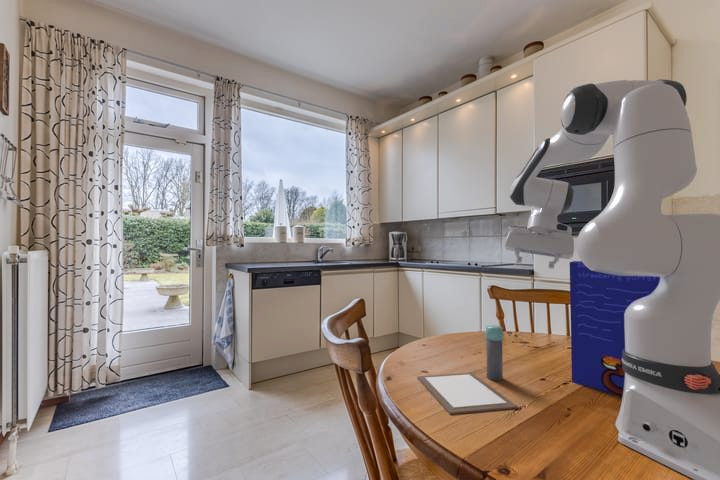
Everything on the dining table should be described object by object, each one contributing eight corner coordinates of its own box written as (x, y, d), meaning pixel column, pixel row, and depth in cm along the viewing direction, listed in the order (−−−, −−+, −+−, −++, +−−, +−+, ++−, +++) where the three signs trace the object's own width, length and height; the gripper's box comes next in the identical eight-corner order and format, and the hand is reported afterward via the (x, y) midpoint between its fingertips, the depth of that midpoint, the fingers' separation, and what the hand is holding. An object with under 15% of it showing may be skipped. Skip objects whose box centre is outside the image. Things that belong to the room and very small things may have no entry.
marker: (506, 380, 83) (505, 328, 83) (492, 381, 82) (491, 329, 83) (497, 374, 87) (496, 324, 87) (483, 375, 86) (482, 325, 87)
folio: (517, 408, 68) (517, 405, 69) (450, 414, 66) (450, 411, 66) (471, 374, 87) (471, 371, 87) (417, 378, 85) (417, 375, 85)
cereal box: (701, 409, 68) (696, 263, 69) (695, 417, 65) (690, 264, 65) (581, 376, 86) (579, 260, 86) (571, 382, 82) (569, 261, 83)
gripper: (508, 220, 115) (500, 255, 111) (577, 228, 105) (572, 266, 100) (508, 229, 120) (501, 263, 116) (574, 237, 110) (569, 275, 105)
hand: (534, 265), depth 108 cm, fingers open, 8 cm apart
